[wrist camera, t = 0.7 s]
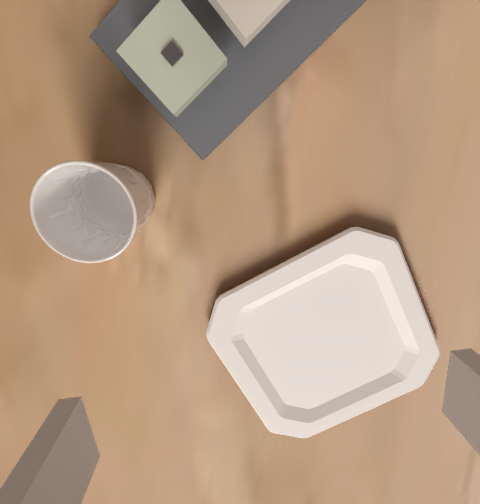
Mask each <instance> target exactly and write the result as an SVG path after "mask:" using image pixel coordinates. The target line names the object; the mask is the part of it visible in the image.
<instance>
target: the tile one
mask: <svg viewBox="0 0 480 504" xmlns="http://www.w3.org/2000/svg"><path fill="white" fill-rule="evenodd" d="M116 51H117V53H118V54H119V55H120V56H121V57H122V58H123V59H124V60H125V61H126V63H127V64H128V65H129V66H130V67H131V68H132V69H133V70H134V71H135V73H136V74H137V75H138V76H139V77H140V78H141V79H142V80H143V81H144V83H145V84H146V85H147V86H148V87H149V88H150V89H151V90H152V91H153V93H154V94H155V95H156V96H157V97H158V98H159V99H160V100H161V101H162V103H163V104H164V105H165V106H166V107H167V108H168V109H169V110H170V111H171V112H172V114H173V115H174V116H176V117H178V116H179V114H180V113H181V112H182V111H183V110H184V109H185V108H186V107H187V106H188V105H189V104H190V103H191V102H192V101H193V100H194V99H195V98H196V97H197V96H198V95H199V94H200V93H201V92H202V91H203V90H204V89H205V88H206V87H207V86H208V85H209V84H210V83H211V82H212V80H213V79H214V78H215V77H216V76H217V75H218V74H219V73H220V72H221V71H222V70H223V69H224V68H225V67H226V66H227V58H226V56H225V55H224V54H223V53H222V51H221V50H220V49H219V48H218V46H217V45H216V44H215V43H214V41H213V40H212V39H211V38H210V36H209V35H208V34H207V33H206V31H205V30H204V29H203V28H202V26H201V25H200V24H199V23H198V21H197V20H196V19H195V18H194V16H193V15H192V14H191V13H190V11H189V10H188V9H187V8H186V6H185V5H184V4H183V3H182V1H181V0H160V2H159V3H158V4H157V5H156V6H155V7H154V8H153V10H152V11H151V12H150V13H149V14H148V15H147V16H146V17H145V19H144V20H143V21H142V22H141V23H140V24H139V25H138V26H137V28H136V29H135V30H134V31H133V32H132V33H131V34H130V36H129V37H128V38H127V39H126V40H125V41H124V42H123V43H122V45H121V46H120V47H119V48H118V49H117V50H116Z"/></svg>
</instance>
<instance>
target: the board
mask: <svg viewBox="0 0 480 504" xmlns="http://www.w3.org/2000/svg"><path fill="white" fill-rule="evenodd" d="M181 1H182V3H183V4H184V5H185V6H186V8H187V9H188V10H189V11H190V13H191V14H192V15H193V16H194V18H195V19H196V20H197V21H198V23H199V24H200V25H201V26H202V28H203V29H204V30H205V31H206V33H207V34H208V35H209V36H210V38H211V39H212V40H213V41H214V43H215V44H216V45H217V46H218V48H219V49H220V50H221V51H222V53H223V54H224V55H225V56H226V58H227V66H226V67H225V68H224V69H223V70H222V71H221V72H220V73H219V74H218V75H217V76H216V77H215V78H214V79H213V80H212V82H211V83H210V84H209V85H208V86H207V87H206V88H205V89H204V90H203V91H202V92H201V93H200V94H199V95H198V96H197V97H196V98H195V99H194V100H193V101H192V102H191V103H190V104H189V105H188V106H187V107H186V108H185V109H184V110H183V111H182V112H181V113H180V114H179V116H178V117H176V116H174V115H173V114H172V112H171V111H170V110H169V109H168V108H167V107H166V106H165V105H164V104H163V103H162V101H161V100H160V99H159V98H158V97H157V96H156V95H155V94H154V93H153V91H152V90H151V89H150V88H149V87H148V86H147V85H146V84H145V83H144V81H143V80H142V79H141V78H140V77H139V76H138V75H137V74H136V73H135V71H134V70H133V69H132V68H131V67H130V66H129V65H128V64H127V63H126V61H125V60H124V59H123V58H122V57H121V56H120V55H119V54H118V53H117V51H116V50H117V49H118V48H119V47H120V46H121V45H122V43H123V42H124V41H125V40H126V39H127V38H128V37H129V36H130V34H131V33H132V32H133V31H134V30H135V29H136V28H137V26H138V25H139V24H140V23H141V22H142V21H143V20H144V19H145V17H146V16H147V15H148V14H149V13H150V12H151V11H152V10H153V8H154V7H155V6H156V5H157V4H158V3H159V2H160V0H120V1H119V2H118V3H117V4H116V5H115V7H114V8H113V9H112V10H111V11H110V12H109V14H108V15H107V16H106V17H105V18H104V19H103V21H102V22H101V23H100V24H99V25H98V26H97V28H96V29H95V30H94V31H93V32H92V33H91V35H90V36H89V37H90V38H91V39H92V40H93V41H94V42H95V43H96V44H97V46H98V47H99V48H100V49H101V50H102V51H103V52H104V53H105V54H106V55H107V56H108V58H109V59H110V60H111V61H112V62H113V63H114V64H115V65H116V66H117V67H118V68H119V70H120V71H121V72H122V73H123V74H124V75H125V76H126V77H127V78H128V79H129V81H130V82H131V83H132V84H133V85H134V86H135V87H136V88H137V89H138V90H139V91H140V93H141V94H142V95H143V96H144V97H145V98H146V99H147V100H148V101H149V102H150V104H151V105H152V106H153V107H154V108H155V109H156V110H157V111H158V112H159V113H160V114H161V116H162V117H163V118H164V119H165V120H166V121H167V122H168V123H169V124H170V125H171V126H172V128H173V129H174V130H175V131H176V132H177V133H178V134H179V135H180V136H181V137H182V139H183V140H184V141H185V142H186V143H187V144H188V145H189V146H190V147H191V148H192V149H193V151H194V152H195V153H196V154H197V155H198V156H199V157H200V158H201V159H202V160H204V159H205V158H206V157H207V156H208V155H209V154H210V153H211V152H212V151H213V150H214V149H215V148H216V147H217V146H218V145H219V144H220V143H221V142H222V141H223V140H224V139H225V138H226V137H227V136H228V135H229V134H230V133H232V132H233V131H234V130H235V129H236V128H237V127H238V126H239V125H240V124H241V123H242V122H243V121H244V120H245V119H246V118H247V117H248V116H249V115H250V114H251V113H252V112H253V111H254V110H255V109H256V108H257V107H258V106H259V105H260V104H261V103H262V102H263V101H264V100H265V99H266V98H267V97H268V96H269V95H270V94H271V93H272V92H273V91H274V90H275V89H276V88H277V87H278V86H280V85H281V84H282V83H283V82H284V81H285V80H286V79H287V78H288V77H289V76H290V75H291V74H292V73H293V72H294V71H295V70H296V69H297V68H298V67H299V66H300V65H301V64H302V63H303V62H304V61H305V60H306V59H307V58H308V57H309V56H310V55H311V54H312V53H313V52H314V51H315V50H316V49H317V48H318V47H319V46H320V45H321V44H322V43H323V42H324V41H325V40H326V39H328V38H329V37H330V36H331V35H332V34H333V33H334V32H335V31H336V30H337V29H338V28H339V27H340V26H341V25H342V24H343V23H344V22H345V21H346V20H347V19H348V18H349V17H350V16H351V15H352V14H353V13H354V12H355V11H356V10H357V9H358V8H359V7H360V6H361V5H362V4H363V3H364V2H365V1H366V0H290V1H289V2H288V3H287V4H286V5H285V6H284V7H283V8H282V9H281V10H280V11H279V12H278V14H277V15H276V16H275V17H274V18H273V19H272V20H271V21H270V22H269V23H268V24H267V25H266V26H265V27H264V28H263V29H262V30H261V31H260V32H259V33H258V34H257V35H256V36H255V37H254V38H253V39H252V40H251V41H250V42H249V43H248V44H247V45H246V46H245V48H244V46H243V45H242V44H241V42H240V41H239V40H238V39H237V37H236V36H235V35H234V33H233V32H232V31H231V30H230V28H229V27H228V26H227V24H226V23H225V22H224V20H223V19H222V18H221V17H220V15H219V14H218V13H217V11H216V10H215V9H214V8H213V6H212V5H211V4H210V2H209V1H208V0H181Z"/></svg>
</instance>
